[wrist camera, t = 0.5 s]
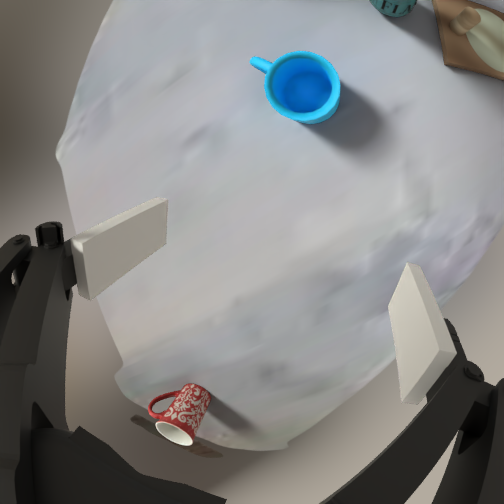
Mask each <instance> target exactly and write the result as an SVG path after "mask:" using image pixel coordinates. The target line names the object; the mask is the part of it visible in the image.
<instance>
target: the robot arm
mask: <svg viewBox="0 0 504 504" xmlns="http://www.w3.org/2000/svg"><path fill="white" fill-rule="evenodd" d="M167 212H168V199H163V198H159V197H156V198H154V199H151V200H149V201H147V202H145V203H142V204H140V205H138V206H136V207H134V208H131V209H129V210H127V211H125V212H123V213H121V214H119V215H116V216H114V217H112V218H110V219H108V220H106V221H104V222H102V223H100V224H98V225H96V226H94V227H92V228H90V229H88V230H86V231H84V232H82V233H80V234H78V235H76V236H74V237H72V238H71V239H69V240H67V241H65V242H64V237H63V228H62V224H61V223H60V222H46V223H43V224H40V225H39V226H37V227H36V228H35V230H36V237H37V243H38V247H36V246H31V241H30V237H29V236H28V235H21V234H20V235H16V236H15V237H13V238H11V239H9V240H8V241H7V242H6V243H5V244H4V245H3V246H2V247H1V248H0V504H225V502H226V500H227V499H224V498H221V497H218V496H215V495H212V494H210V493H207V492H204V491H201V490H199V489H196V488H194V487H191V486H188V485H186V484H182V483H177V482H172V481H167V480H163V479H158V478H154V477H150V476H146V475H143V474H140V473H139V472H137V471H136V470H135V469H134V468H133V467H132V466H130V465H129V464H128V463H127V462H126V461H125V460H124V459H123V458H122V457H121V456H120V455H119V454H117V453H116V452H115V451H114V450H113V449H112V448H111V447H110V446H109V445H107V444H106V443H105V442H103V441H101V440H100V439H98V438H97V437H95V436H94V435H92V434H91V433H89V432H87V431H86V430H85V429H83V428H82V427H80V426H79V427H78V428H77V429H76V430H75V432H72V431H69V429H68V426H67V423H66V417H65V369H66V349H67V338H68V328H69V319H70V311H71V303H72V297H73V293H72V287H73V286H74V285H76V284H77V287H78V292H79V295H80V296H82V297H84V298H86V299H88V300H90V301H91V300H92V299H94V298H95V297H96V296H97V295H99V294H100V293H101V292H102V291H104V290H105V289H106V288H108V287H109V286H110V285H112V284H113V283H114V282H115V281H117V280H118V279H119V278H121V277H122V276H123V275H125V274H126V273H127V272H129V271H130V270H131V269H133V268H134V267H135V266H137V265H138V264H139V263H141V262H142V261H143V260H145V259H146V258H147V257H149V256H150V255H152V254H153V253H154V252H156V251H157V250H158V249H160V248H161V247H163V246H164V245H165V244H166V234H167ZM12 273H13V275H14V279H15V283H14V284H12V280H11V277H12ZM388 309H389V315H390V320H391V326H392V332H393V338H394V344H395V351H396V358H397V365H398V374H399V383H400V393H401V402H402V403H409V404H416V405H418V404H419V403H420V401H421V400H422V399H423V398H424V397H425V395H426V397H427V404H426V405H425V406H424V407H423V409H422V410H421V411H420V412H419V413H418V414H417V416H415V418H414V419H413V420H412V421H411V422H410V424H409V425H408V426H407V427H406V428H405V429H404V430H403V431H402V432H401V433H400V434H399V435H398V436H397V437H396V439H394V440H393V441H392V442H391V443H390V444H389V445H388V446H387V448H385V449H384V450H383V451H382V452H381V453H380V454H379V455H378V456H377V457H376V458H375V459H374V460H373V461H372V462H371V463H369V464H368V465H367V466H366V467H365V468H364V469H363V470H361V471H360V472H359V473H358V474H357V475H356V476H354V477H353V478H352V479H351V480H350V481H348V482H347V483H346V484H345V485H343V486H342V487H341V488H340V489H338V490H337V491H336V492H334V493H333V494H332V495H330V496H329V497H328V498H326V499H325V500H324V501H322V502H321V503H319V504H404V503H405V502H406V501H407V500H408V498H409V497H410V496H411V495H412V494H413V493H414V491H415V490H416V489H417V488H418V486H419V485H420V484H421V483H422V482H423V480H424V479H425V478H426V476H427V475H428V474H429V473H430V471H431V470H432V469H433V467H434V466H435V465H436V463H437V462H438V460H439V459H440V458H441V456H442V455H443V453H444V452H445V450H446V449H447V447H448V446H449V444H450V442H451V441H452V440H453V438H454V436H455V435H456V433H457V432H458V434H457V438H456V441H455V444H454V448H453V451H452V454H451V457H450V459H449V462H448V465H447V468H446V471H445V473H444V476H443V478H442V481H441V483H440V486H439V488H438V490H437V493H436V495H435V497H434V500H433V502H432V504H504V378H503V379H501V380H500V381H499V382H498V384H497V385H496V386H493V385H491V384H489V383H487V382H484V375H483V372H482V371H481V369H480V368H479V367H478V366H477V365H476V364H474V363H473V362H470V361H467V358H466V356H465V353H464V350H463V348H462V345H461V343H460V340H459V338H458V336H457V333H456V330H455V328H454V326H453V325H452V324H451V323H450V321H449V320H448V319H445V318H443V316H442V314H441V311H440V309H439V306H438V304H437V302H436V300H435V297H434V295H433V293H432V291H431V289H430V286H429V284H428V282H427V280H426V278H425V276H424V274H423V272H422V270H421V268H420V266H418V265H415V264H412V263H409V262H407V263H406V266H405V268H404V271H403V273H402V276H401V278H400V280H399V283H398V285H397V287H396V290H395V292H394V294H393V296H392V299H391V301H390V303H389V305H388ZM458 430H459V431H458Z"/></svg>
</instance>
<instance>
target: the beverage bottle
mask: <svg viewBox="0 0 504 504" xmlns="http://www.w3.org/2000/svg"><path fill="white" fill-rule="evenodd" d="M369 1H370V2H371V4H372V5H373V6H374V7H375V8H376V9H377V10H378V11H380V12H382V13H383V14H386V15H388V16H393V17H400V16H405V15H406V14H408V13H410V11H411V9H412V7H413V5H414V4H416V3H417V0H369Z"/></svg>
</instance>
